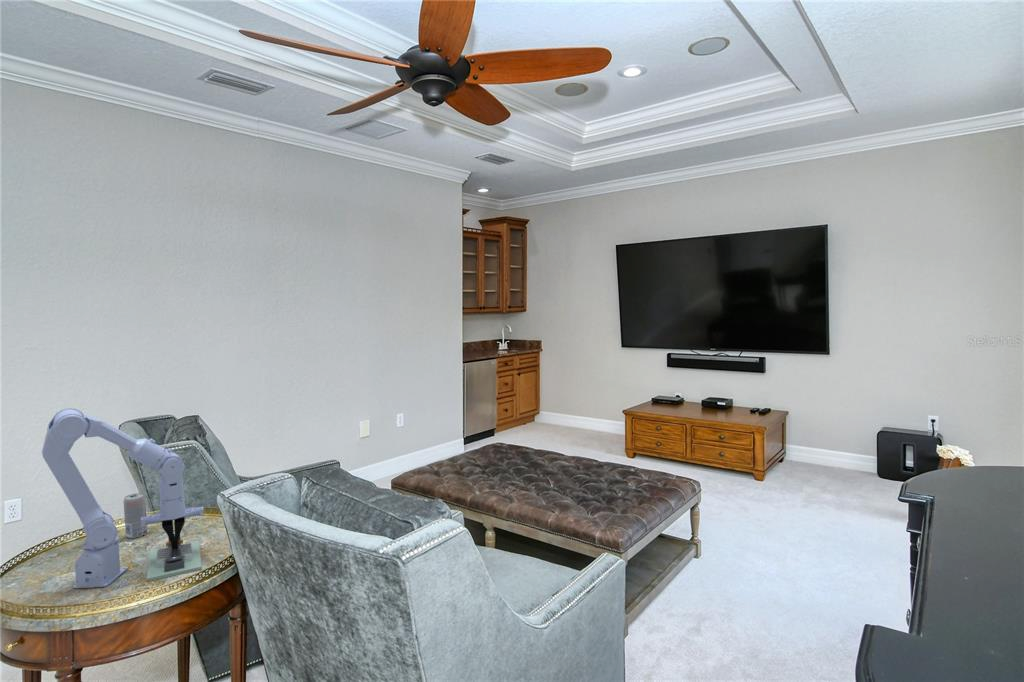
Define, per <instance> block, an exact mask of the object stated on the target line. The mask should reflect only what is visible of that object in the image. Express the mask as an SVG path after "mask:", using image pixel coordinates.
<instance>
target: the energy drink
mask: <svg viewBox="0 0 1024 682" xmlns="http://www.w3.org/2000/svg"><path fill="white" fill-rule="evenodd" d="M145 496H146V495H145V494H144V493H133V494H129V495H126V496H125V497H124V498H123V510H124V511H123V514H124V527H125V537H126V538H127V539H137V538H136V537H138V538H141V537H144V536H146V534H147V533H148V525H146V526H143V527H141V517H146V516H147V504H146V497H145ZM143 535H144V536H143ZM140 536H141V537H140Z"/></svg>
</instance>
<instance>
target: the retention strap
mask: <svg viewBox="0 0 1024 682" xmlns="http://www.w3.org/2000/svg"><path fill="white" fill-rule="evenodd" d="M181 544H184V539H183V538H180V539H179V540H178V546H176V547H172V545H171V541H169V540H168V541H166V542H165V548H166V547H167V558H166V563H167V562H171V561H176V560H181V559H182V555H181Z"/></svg>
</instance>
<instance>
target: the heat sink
mask: <svg viewBox="0 0 1024 682" xmlns="http://www.w3.org/2000/svg"><path fill="white" fill-rule="evenodd" d="M181 555H182V559H184V562H189V561H192V549H191V542H188V543H187V544H186V543H182V545H181ZM166 558H167V548H166V547H162V549H161V548H157V560H156V563H157V568H161V567H164V563H165V562H166Z"/></svg>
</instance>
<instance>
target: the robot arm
mask: <svg viewBox="0 0 1024 682" xmlns="http://www.w3.org/2000/svg"><path fill="white" fill-rule="evenodd" d="M83 435H84V437H85V438H86V439H87V438H96V437H99V438H102V439H104V440H105V441H108V442H110V443H112V444H114V445H116V446H118V447H120V448H122V449H125V450H127V451H128V457H129V458H131V459H132V460H134V461H137V462H138V463H140V464H142V465H144V466H146V467H149V468H150V469H152V470H154V469H155V470H157V472H158V491H159V507H160V508H159V509H160V512H158V513H155V514H151V515H146V517H141V527H143V526H146V525H147V526H148V525H153V524H159V523H161V527H162V530H163V531H164V532H165V534H166V535H167V536H168V537H169V539H170V541H171V545H172V547H176V546H178V540H179V536H180V537H181V532H182V530H183V528H184V525H185V523H186V519H185V518H192V517H196V516H197V517H198V516H199V517H201V516H205V515H204V514H205V512H204V511H205V509H204V506H197V507H195V506H194V507H187V508H186V503H185V500H186V499H185V488H184V487H185V485H184V478H183V475H184V474H183V472H184V471H185V468H186V464H185V463H184V459H183V458H181V457H180V455H178V454H177V453H176V452H175V451H172V449H170V448H169V447H168V448H164V447H162V446H160V445H159V444H158V443H156V440H154V439H153V438H149V439H148V438H145V437H143V438H140V439H138V438H137V439H136V438H134V437H132V436H131V435H129V434H127V433H126V432H124V431H123V430H120V429H119V428H117V427H115V426H114V425H112V424H110V423H108V422H106V421H105V420H102V419H100V418H98V417H97V416H93V415H91V414H88V413H86V412H85V413H83V412H82V411H81V410H79V409H77V408H72V407H68V408H64V409H61V410H60V411H59V410H58V412H57V413H55V414H54V415H53V417H52V418H51V420H50V422H49V423H48V425H47V431H46V433H45V438H44V442H43V445H42V450H41V454H42V458H43V459H44V461H45V463H46V464H47V466H48V468H49V470H50V471H51V473H52V474H53V476H54V478H55V480H56V481H57V483H58V484H59V486H60V487H61V489H62V491H63V492H64V494H65V496H66V497H67V499H68V501H69V502H70V504H71V506H72V508H73V509H74V511H75V512H76V514H77V516H78V518H79V520H80V521H81V524H82V526H83V527H82V529H83V531H84V533H85V537H86V540H85V541H84V543H83V544H82V547H83V548H82V553H81V554H80V556H79V557H77V559H76V560H75V564H74V569H75V584H74V585H72V588H73V589H86V588H104V587H106V588H107V587H108V586H109V585H111V583H113V582H114V581H115V580H116V579H118V578H119V577H120V576H121V575H123V574H124V573H125V572H126V571H127V570H128V569H129V566H121V558H120V543H119V536H118V535H119V534H118V533H119V531H118V527H117V526H116V525H115V522H114V519H113V517H112V515H110V514H109V513H107V512H106V511H104V510H103V509H102V507H101V505H100V504H99V503H98V501H97V499H96V497H95V495H94V494H93V492H92V491H91V489H90V487H89V486H88V484H87V483H86V481H85V479H84V477H83V475H82V474H81V472H80V470H79V468H78V467H77V465H76V463H75V461H74V460H73V458H72V457H71V455H70V451H71V449H72V447H74V444H75V442H76V441H78V439H80V438H81V437H82V436H83ZM174 534H175V539H174ZM169 539H168V540H169Z"/></svg>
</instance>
